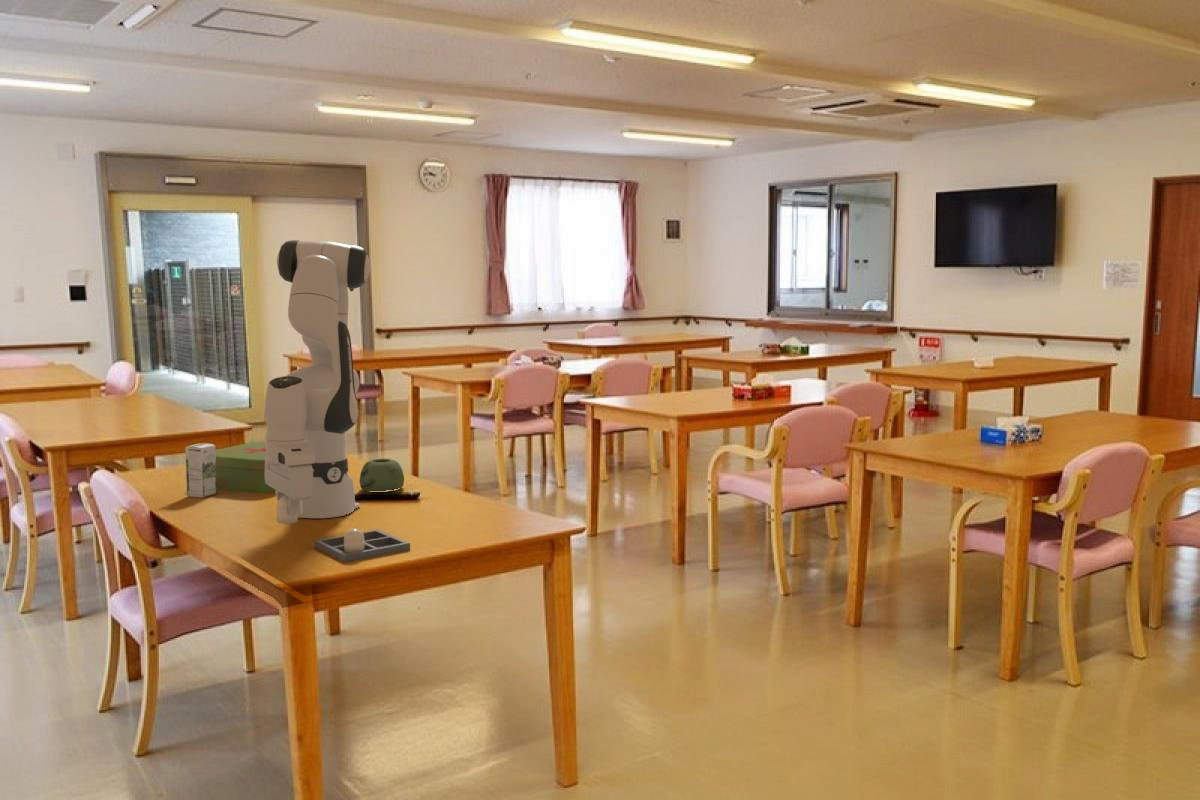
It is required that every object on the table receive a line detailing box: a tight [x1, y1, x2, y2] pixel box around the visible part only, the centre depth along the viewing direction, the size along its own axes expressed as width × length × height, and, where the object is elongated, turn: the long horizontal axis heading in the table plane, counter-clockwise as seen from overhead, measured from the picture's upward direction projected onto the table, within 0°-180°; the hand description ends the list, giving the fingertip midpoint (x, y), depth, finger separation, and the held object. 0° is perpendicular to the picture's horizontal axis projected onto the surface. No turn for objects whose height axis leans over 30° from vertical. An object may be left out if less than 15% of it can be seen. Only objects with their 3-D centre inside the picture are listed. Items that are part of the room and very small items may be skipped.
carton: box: [314, 529, 411, 564], centre depth 226 cm, size 16×16×2 cm
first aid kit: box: [215, 441, 275, 494], centre depth 302 cm, size 26×26×10 cm
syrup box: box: [184, 442, 218, 499], centre depth 284 cm, size 6×6×14 cm
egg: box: [276, 495, 299, 525], centre depth 224 cm, size 4×4×6 cm
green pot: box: [359, 458, 405, 492], centre depth 291 cm, size 16×13×9 cm
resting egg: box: [344, 528, 365, 554], centre depth 221 cm, size 4×4×6 cm
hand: (287, 512), depth 224 cm, fingers closed on egg, 4 cm apart
